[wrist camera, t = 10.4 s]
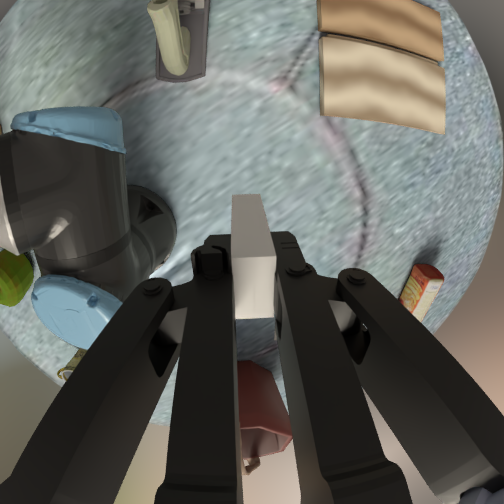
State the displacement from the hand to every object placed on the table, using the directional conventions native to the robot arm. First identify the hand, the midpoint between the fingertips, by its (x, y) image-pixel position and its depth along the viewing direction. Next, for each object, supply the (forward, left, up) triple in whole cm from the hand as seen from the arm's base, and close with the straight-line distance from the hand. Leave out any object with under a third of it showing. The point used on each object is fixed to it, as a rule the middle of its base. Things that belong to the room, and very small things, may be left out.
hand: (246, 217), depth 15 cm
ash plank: (+11, -22, -26) cm, 36 cm away
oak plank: (+24, -22, -26) cm, 42 cm away
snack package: (-32, -36, -27) cm, 55 cm away
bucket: (-54, +3, -27) cm, 60 cm away
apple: (-18, +49, -27) cm, 59 cm away
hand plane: (+26, +7, -27) cm, 38 cm away
